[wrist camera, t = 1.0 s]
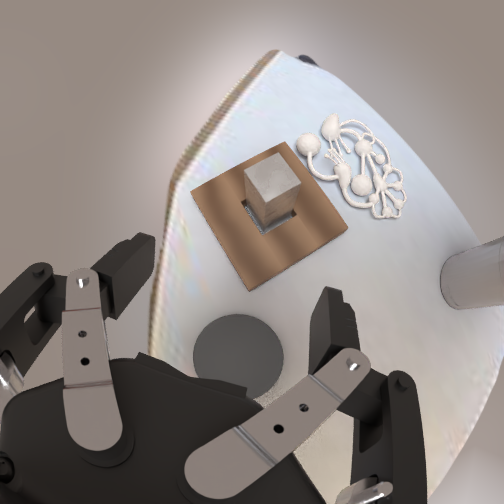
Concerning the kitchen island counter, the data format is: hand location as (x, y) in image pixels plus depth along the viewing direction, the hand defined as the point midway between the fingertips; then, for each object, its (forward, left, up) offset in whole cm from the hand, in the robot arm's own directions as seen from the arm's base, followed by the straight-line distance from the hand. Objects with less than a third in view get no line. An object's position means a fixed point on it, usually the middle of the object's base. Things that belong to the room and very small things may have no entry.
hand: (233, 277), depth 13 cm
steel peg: (-9, -9, -26) cm, 29 cm away
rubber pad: (+5, +6, -26) cm, 28 cm away
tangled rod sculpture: (-26, -9, -27) cm, 39 cm away
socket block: (-9, -9, -26) cm, 29 cm away
